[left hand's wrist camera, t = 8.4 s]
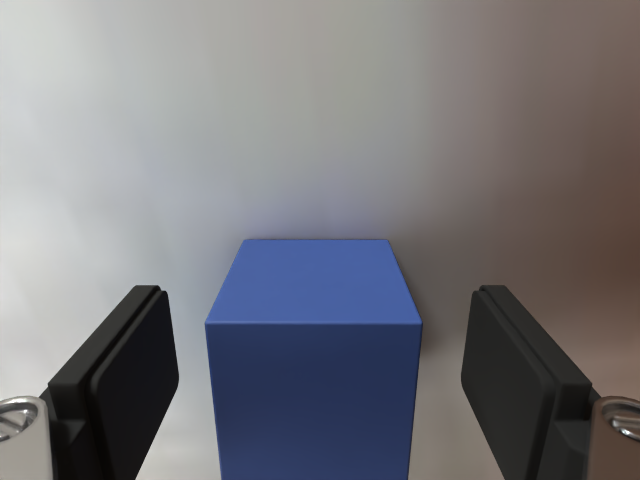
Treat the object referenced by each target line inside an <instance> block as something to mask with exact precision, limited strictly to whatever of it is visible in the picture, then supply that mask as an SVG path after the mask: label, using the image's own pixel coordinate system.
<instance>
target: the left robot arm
mask: <svg viewBox="0 0 640 480" xmlns="http://www.w3.org/2000/svg"><path fill="white" fill-rule="evenodd" d="M178 382H179V372H178V365H177V357H176V350H175V343H174V336H173V328H172V321H171V314H170V306H169V299H168V294H167V292H166V291H161V289H160V287H159V286H158V285H136V286H135V287H133V289H132V290H131V291H130V292H129V293H128V294H127V295H126V296H125V298H124V299H123V300H122V301H121V302H120V303H119V304H118V305H117V306H116V308H115V309H114V310H113V311H112V312H111V313H110V314H109V315H108V317H107V318H106V319H105V320H104V321H103V322H102V323H101V324H100V326H99V327H98V328H97V329H96V330H95V331H94V332H93V333H92V334H91V336H90V337H89V338H88V339H87V340H86V341H85V342H84V343H83V345H82V346H81V347H80V348H79V349H78V350H77V351H76V352H75V354H74V355H73V356H72V357H71V358H70V359H69V360H68V361H67V362H66V364H65V365H64V366H63V367H62V368H61V369H60V370H59V371H58V373H57V374H56V375H55V376H54V377H53V378H52V379H51V380H50V382H49V383H48V387H47V389H46V390H45V391H44V392H43V393H42V394H41V395H40V396H39V397H33V396H19V397H14V398H9V399H5V400H2V401H0V480H135V479H136V477H137V475H138V472H139V470H140V468H141V466H142V464H143V462H144V459H145V457H146V455H147V453H148V451H149V449H150V446H151V444H152V442H153V440H154V438H155V435H156V433H157V431H158V429H159V427H160V425H161V422H162V420H163V418H164V416H165V414H166V412H167V409H168V407H169V405H170V403H171V401H172V399H173V396H174V394H175V392H176V390H177V387H178ZM461 382H462V387H463V390H464V392H465V394H466V396H467V399H468V401H469V403H470V405H471V407H472V409H473V412H474V414H475V416H476V418H477V420H478V422H479V425H480V427H481V429H482V431H483V433H484V435H485V438H486V440H487V442H488V444H489V446H490V448H491V451H492V453H493V455H494V457H495V459H496V462H497V464H498V466H499V468H500V470H501V472H502V475H503V477H504V479H505V480H640V401H638V400H635V399H631V398H626V397H621V396H607V397H601V396H600V395H599V394H598V393H597V392H596V391H595V390H594V389H593V387H592V383H591V382H590V380H589V379H588V378H587V377H586V376H585V375H584V374H583V373H582V371H581V370H580V369H579V368H578V367H577V366H576V365H575V364H574V362H573V361H572V360H571V359H570V358H569V357H568V356H567V355H566V354H565V352H564V351H563V350H562V349H561V348H560V347H559V346H558V345H557V343H556V342H555V341H554V340H553V339H552V338H551V337H550V336H549V334H548V333H547V332H546V331H545V330H544V329H543V328H542V327H541V326H540V324H539V323H538V322H537V321H536V320H535V319H534V318H533V317H532V315H531V314H530V313H529V312H528V311H527V310H526V309H525V308H524V306H523V305H522V304H521V303H520V302H519V301H518V300H517V299H516V298H515V296H514V295H513V294H512V293H511V292H510V291H509V290H508V289H507V287H505V286H504V285H482V286H481V287H480V289H479V291H474V292H473V294H472V299H471V307H470V314H469V321H468V328H467V336H466V343H465V350H464V357H463V365H462V372H461Z"/></svg>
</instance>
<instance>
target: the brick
mask: <svg viewBox="0 0 640 480" xmlns="http://www.w3.org/2000/svg"><path fill="white" fill-rule="evenodd" d="M422 327H423V323H422V320H421V318H420V315H419V313H418V311H417V308H416V306H415V303H414V301H413V299H412V296H411V294H410V291H409V289H408V287H407V284H406V282H405V280H404V277H403V275H402V272H401V270H400V268H399V265H398V263H397V260H396V258H395V256H394V253H393V251H392V248H391V246H390V244H389V241H388V240H244V241H243V243H242V245H241V247H240V249H239V251H238V254H237V256H236V258H235V260H234V262H233V264H232V266H231V268H230V270H229V273H228V275H227V277H226V279H225V281H224V283H223V285H222V287H221V290H220V292H219V294H218V296H217V298H216V300H215V302H214V304H213V307H212V309H211V311H210V313H209V315H208V317H207V319H206V321H205V330H206V340H207V349H208V358H209V368H210V377H211V386H212V396H213V405H214V414H215V424H216V433H217V443H218V452H219V461H220V471H221V480H408V473H409V463H410V452H411V442H412V431H413V421H414V411H415V400H416V390H417V379H418V369H419V358H420V348H421V337H422Z"/></svg>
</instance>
